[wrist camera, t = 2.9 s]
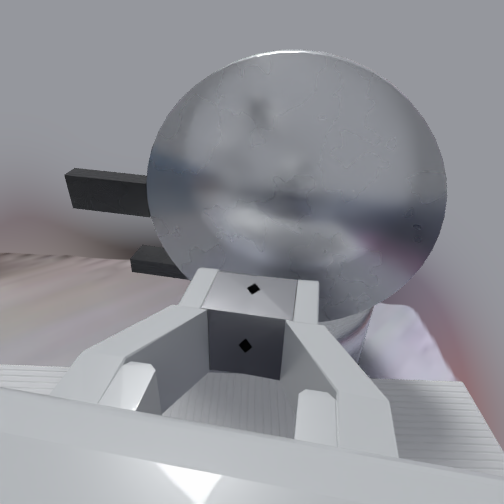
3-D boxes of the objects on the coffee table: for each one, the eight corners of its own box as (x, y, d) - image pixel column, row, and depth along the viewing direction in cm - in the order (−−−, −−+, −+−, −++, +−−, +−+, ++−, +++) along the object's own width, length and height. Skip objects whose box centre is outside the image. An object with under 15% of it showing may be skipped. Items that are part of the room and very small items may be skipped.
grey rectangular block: (-59, 636, 22) (-153, 554, 16) (34, 455, 31) (-5, 363, 25) (487, 649, 22) (576, 575, 17) (419, 468, 31) (462, 381, 26)
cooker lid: (397, 328, 28) (399, 340, 27) (103, 285, 31) (96, 294, 30) (493, 61, 18) (503, 64, 17) (41, 33, 21) (27, 35, 20)
